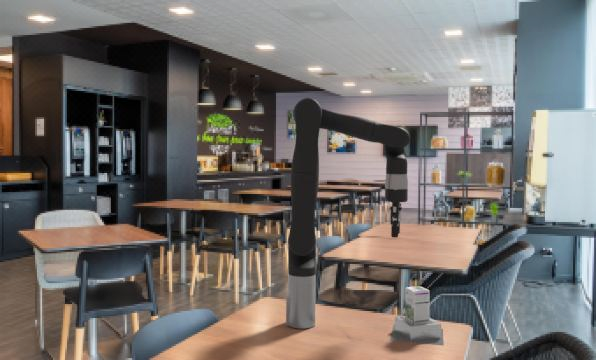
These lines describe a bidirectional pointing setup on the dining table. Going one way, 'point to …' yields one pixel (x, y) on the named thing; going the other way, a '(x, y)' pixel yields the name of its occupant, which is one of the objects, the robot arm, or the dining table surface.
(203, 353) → the dining table surface
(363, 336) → the dining table surface
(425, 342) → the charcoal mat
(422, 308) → the syrup box
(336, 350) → the dining table surface
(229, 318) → the dining table surface
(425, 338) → the metal sleeve
